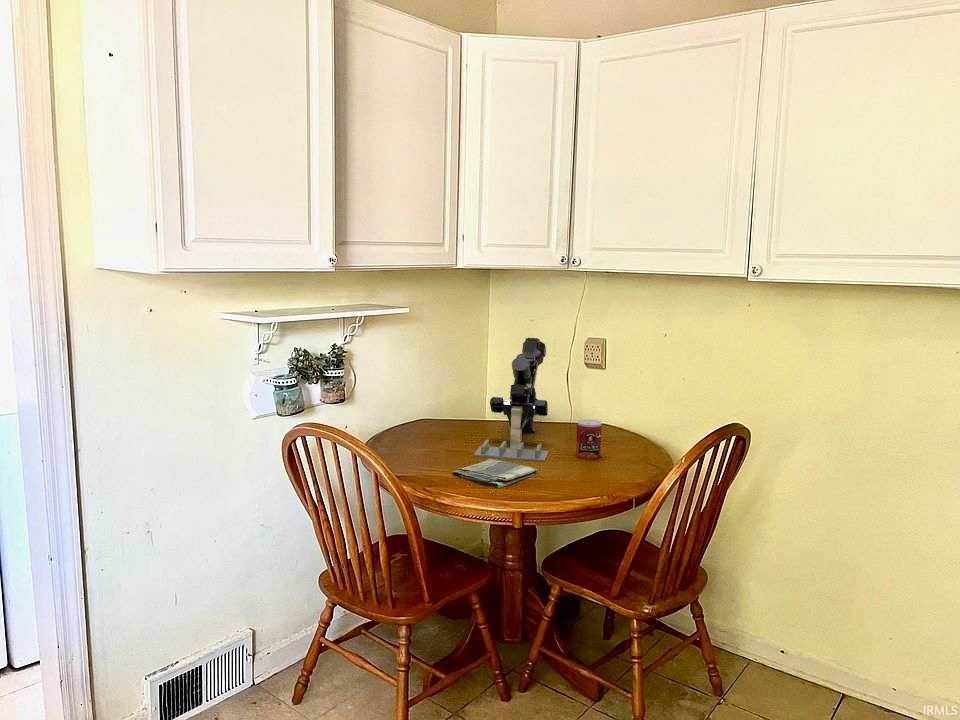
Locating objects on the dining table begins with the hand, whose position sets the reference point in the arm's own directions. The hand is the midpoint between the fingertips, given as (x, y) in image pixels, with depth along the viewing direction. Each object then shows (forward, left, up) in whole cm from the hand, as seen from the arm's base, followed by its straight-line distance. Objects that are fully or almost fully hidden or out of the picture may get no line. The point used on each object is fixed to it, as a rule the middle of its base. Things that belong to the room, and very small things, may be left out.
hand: (515, 428), depth 233 cm
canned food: (+8, +22, -7) cm, 25 cm away
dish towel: (+27, -9, -7) cm, 30 cm away
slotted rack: (+7, -2, -7) cm, 10 cm away
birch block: (-1, 0, -7) cm, 7 cm away
